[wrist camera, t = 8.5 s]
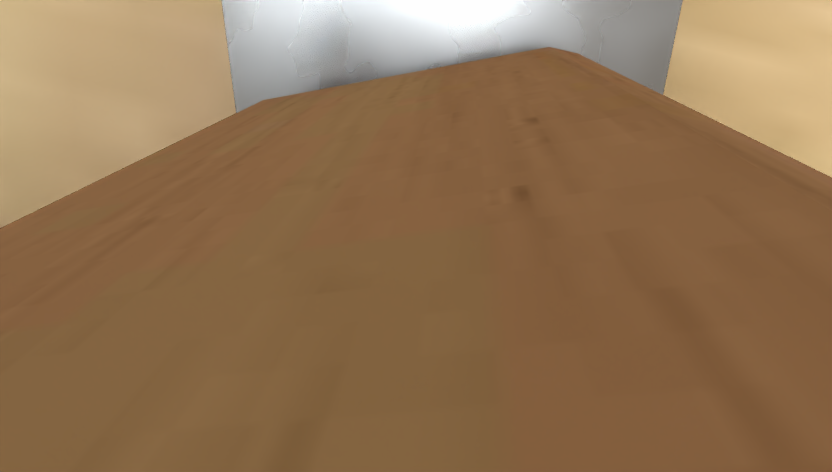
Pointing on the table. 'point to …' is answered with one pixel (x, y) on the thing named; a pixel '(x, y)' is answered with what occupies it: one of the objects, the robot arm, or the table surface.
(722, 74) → the table surface
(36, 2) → the table surface
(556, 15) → the press
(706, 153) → the wooden block
